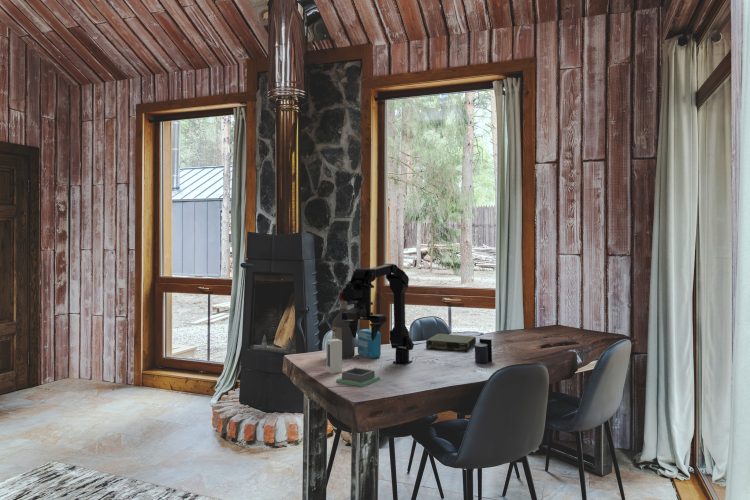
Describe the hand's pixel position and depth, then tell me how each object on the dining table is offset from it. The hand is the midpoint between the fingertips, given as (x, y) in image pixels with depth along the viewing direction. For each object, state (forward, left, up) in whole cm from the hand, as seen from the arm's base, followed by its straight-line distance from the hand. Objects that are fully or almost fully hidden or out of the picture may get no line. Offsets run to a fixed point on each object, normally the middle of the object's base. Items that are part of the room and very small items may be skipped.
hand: (363, 339), depth 194 cm
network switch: (-73, +1, -15) cm, 75 cm away
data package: (-30, -20, -15) cm, 39 cm away
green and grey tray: (+7, +3, -15) cm, 16 cm away
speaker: (-49, +29, -15) cm, 59 cm away
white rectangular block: (+2, -14, -15) cm, 20 cm away
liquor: (-22, -29, -15) cm, 39 cm away
